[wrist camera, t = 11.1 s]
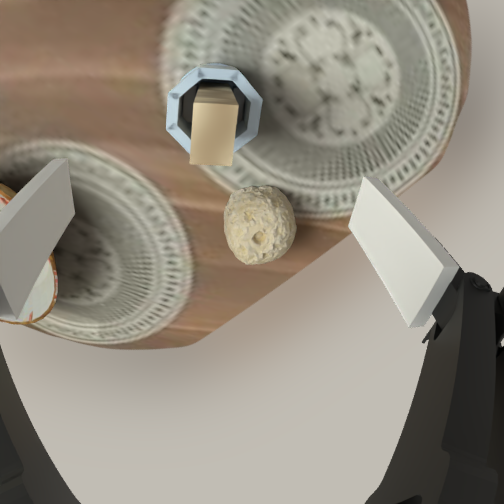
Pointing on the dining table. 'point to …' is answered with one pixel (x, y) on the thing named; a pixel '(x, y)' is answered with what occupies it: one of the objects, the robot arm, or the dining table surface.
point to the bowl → (44, 286)
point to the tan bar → (213, 125)
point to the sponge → (259, 224)
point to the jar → (186, 92)
